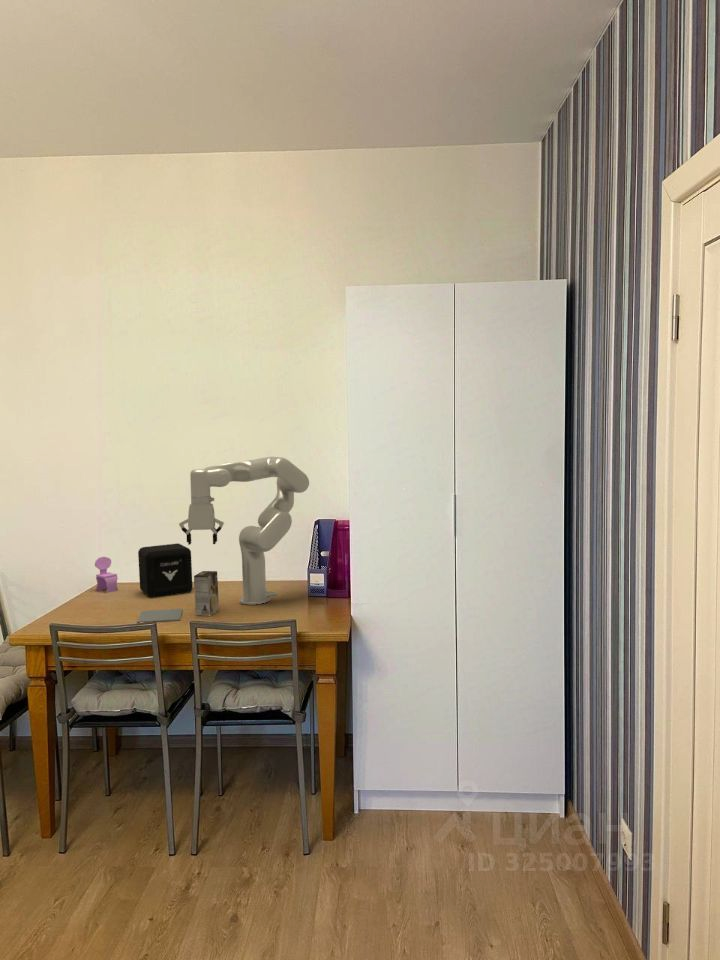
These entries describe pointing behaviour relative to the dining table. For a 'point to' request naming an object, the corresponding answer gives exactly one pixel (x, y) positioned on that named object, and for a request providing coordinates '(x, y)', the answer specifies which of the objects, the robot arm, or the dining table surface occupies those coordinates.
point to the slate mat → (160, 615)
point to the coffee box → (206, 593)
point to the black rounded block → (165, 570)
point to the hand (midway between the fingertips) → (202, 543)
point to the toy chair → (105, 575)
